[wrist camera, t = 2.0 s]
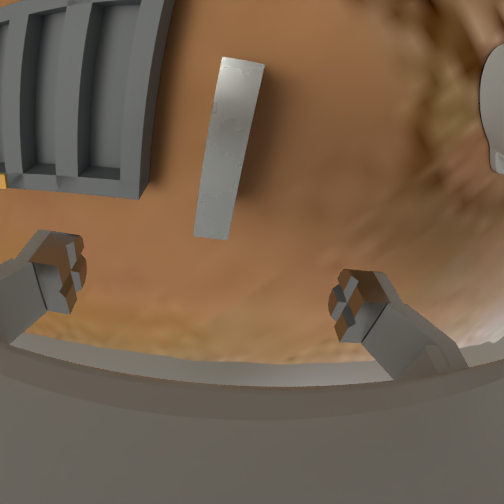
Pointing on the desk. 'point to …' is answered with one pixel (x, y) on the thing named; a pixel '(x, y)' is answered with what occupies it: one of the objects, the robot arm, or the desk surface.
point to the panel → (226, 145)
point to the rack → (80, 94)
